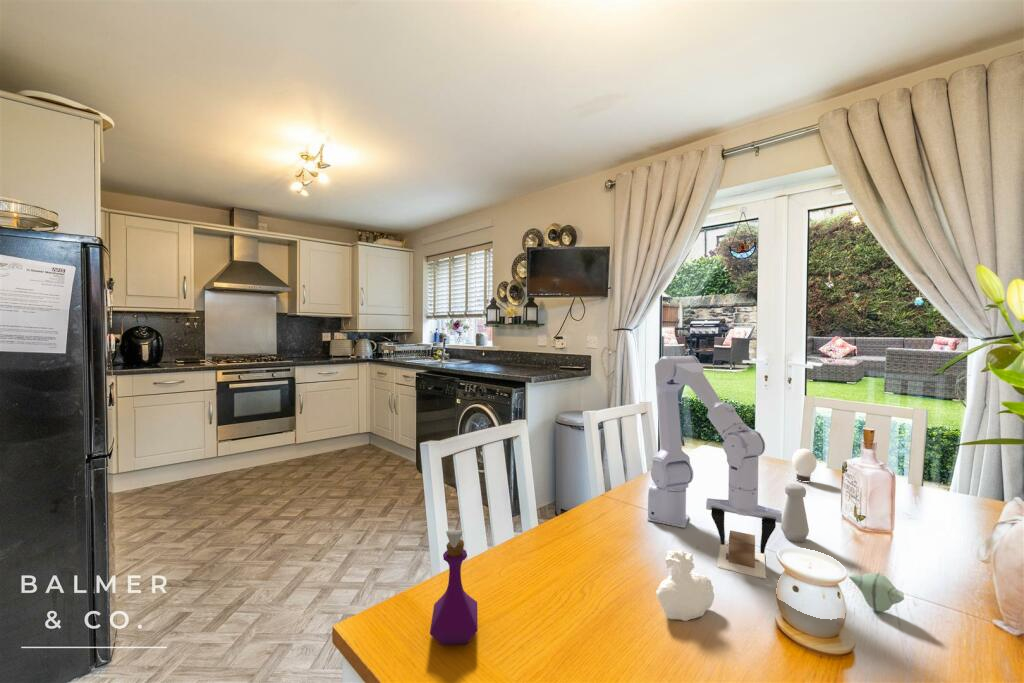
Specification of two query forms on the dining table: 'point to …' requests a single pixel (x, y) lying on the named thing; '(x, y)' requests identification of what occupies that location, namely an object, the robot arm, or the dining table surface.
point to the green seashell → (877, 590)
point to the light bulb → (804, 464)
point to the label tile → (757, 571)
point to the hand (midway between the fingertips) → (742, 547)
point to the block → (742, 549)
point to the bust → (684, 588)
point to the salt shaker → (795, 514)
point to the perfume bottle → (454, 600)
